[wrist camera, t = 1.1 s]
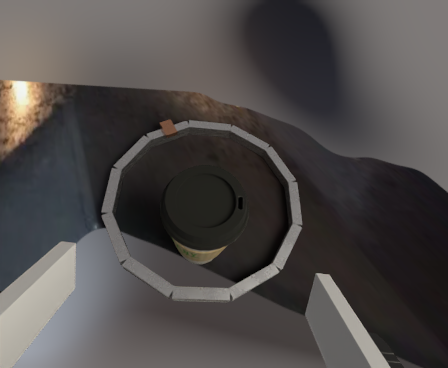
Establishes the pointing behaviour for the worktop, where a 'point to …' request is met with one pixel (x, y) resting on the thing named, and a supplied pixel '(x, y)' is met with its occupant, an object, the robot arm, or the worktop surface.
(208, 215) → the coffee cup
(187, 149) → the worktop surface
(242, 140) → the centring ring
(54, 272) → the robot arm
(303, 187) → the worktop surface
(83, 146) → the worktop surface
